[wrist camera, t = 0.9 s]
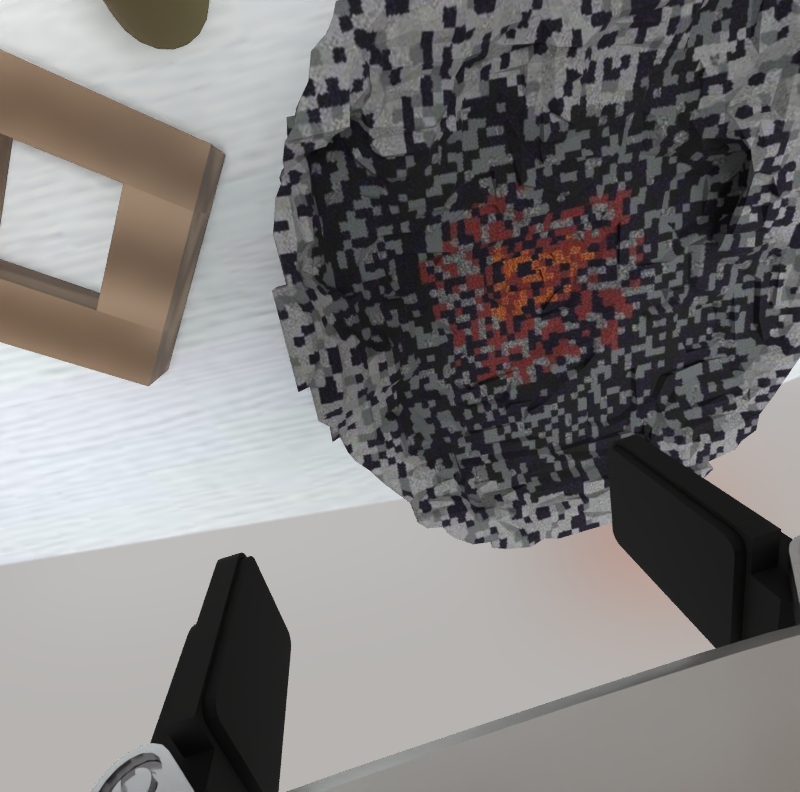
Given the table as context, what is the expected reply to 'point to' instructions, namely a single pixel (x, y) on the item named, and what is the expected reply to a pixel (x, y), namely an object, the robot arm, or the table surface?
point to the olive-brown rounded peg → (161, 20)
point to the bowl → (541, 244)
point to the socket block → (133, 232)
